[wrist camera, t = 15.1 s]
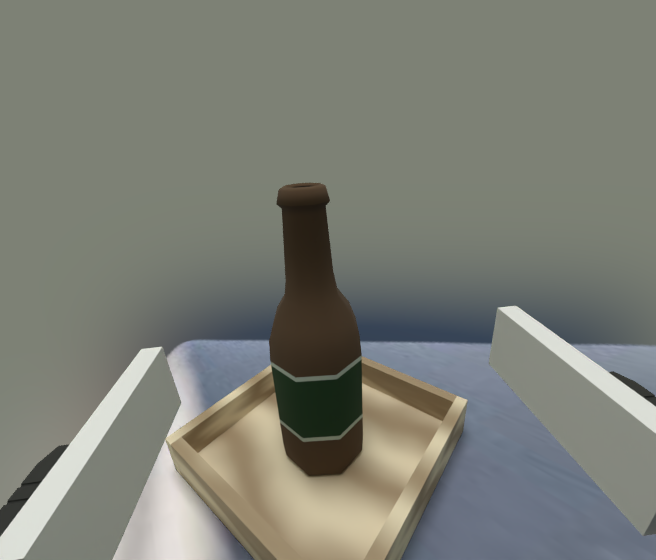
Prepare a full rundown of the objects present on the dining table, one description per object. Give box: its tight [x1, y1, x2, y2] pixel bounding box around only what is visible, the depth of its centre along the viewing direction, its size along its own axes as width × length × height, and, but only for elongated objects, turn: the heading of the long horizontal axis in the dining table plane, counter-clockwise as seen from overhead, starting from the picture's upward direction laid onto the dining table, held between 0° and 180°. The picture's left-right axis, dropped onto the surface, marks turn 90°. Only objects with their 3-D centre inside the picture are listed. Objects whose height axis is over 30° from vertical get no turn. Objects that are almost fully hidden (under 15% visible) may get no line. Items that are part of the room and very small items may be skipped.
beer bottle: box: [269, 183, 363, 476], centre depth 26 cm, size 8×8×24 cm
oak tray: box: [165, 357, 468, 560], centre depth 30 cm, size 20×20×4 cm
